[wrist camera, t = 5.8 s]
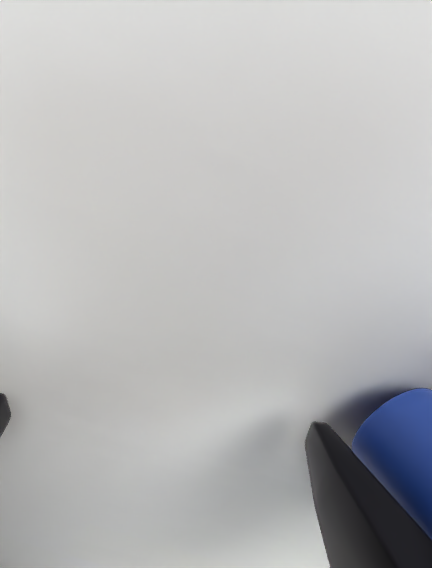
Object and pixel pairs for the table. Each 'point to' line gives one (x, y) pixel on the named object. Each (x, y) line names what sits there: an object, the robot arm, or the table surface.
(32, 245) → the table surface
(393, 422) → the blue tube
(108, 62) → the table surface
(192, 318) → the table surface
